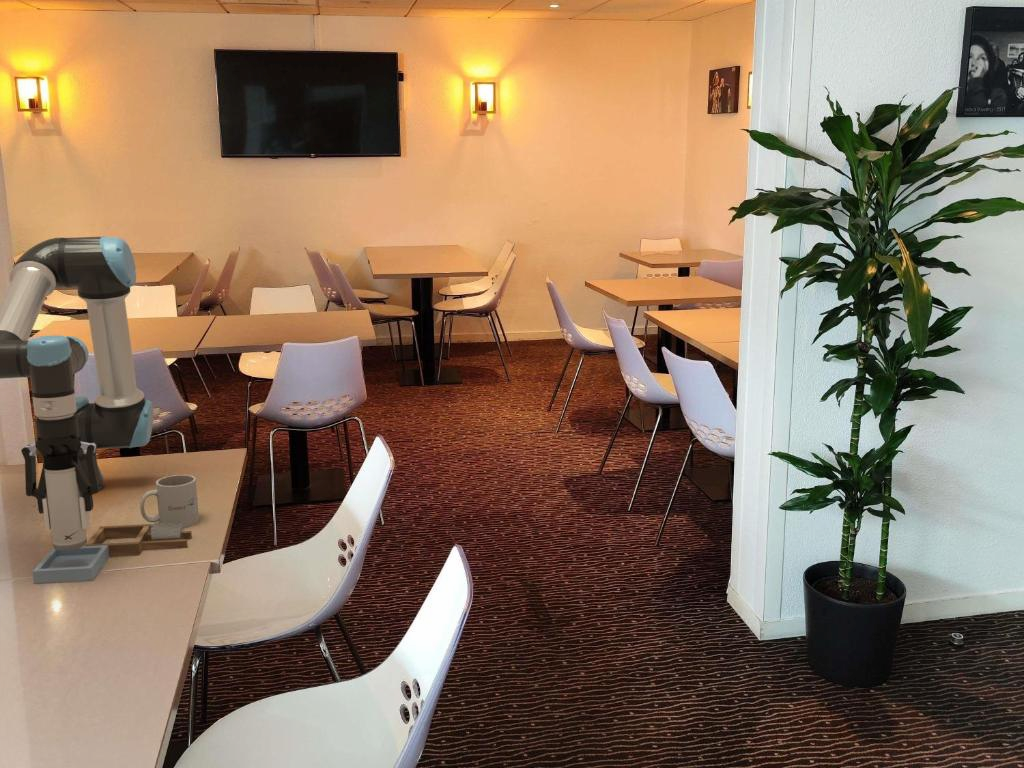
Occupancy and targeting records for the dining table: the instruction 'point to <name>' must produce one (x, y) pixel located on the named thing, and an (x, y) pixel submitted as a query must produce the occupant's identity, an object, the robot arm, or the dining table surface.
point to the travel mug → (64, 502)
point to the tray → (71, 565)
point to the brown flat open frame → (139, 543)
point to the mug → (174, 500)
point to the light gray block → (167, 531)
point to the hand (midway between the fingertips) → (68, 526)
